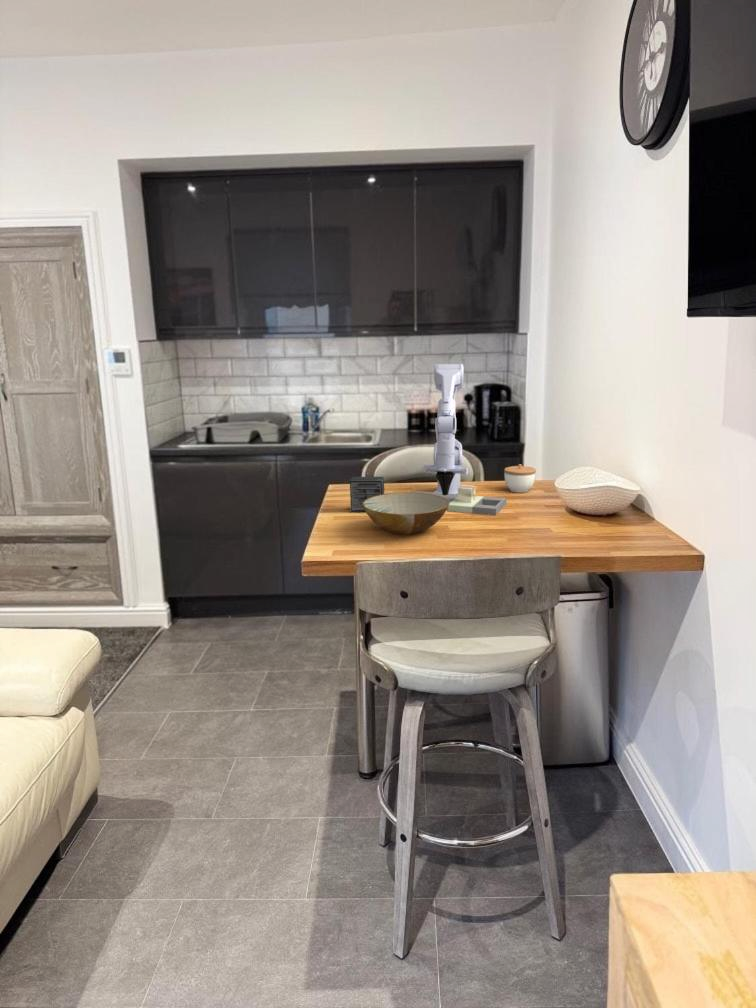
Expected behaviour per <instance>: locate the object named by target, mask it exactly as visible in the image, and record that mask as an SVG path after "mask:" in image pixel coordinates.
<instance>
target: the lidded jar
mask: <svg viewBox="0 0 756 1008" xmlns="http://www.w3.org/2000/svg"><path fill="white" fill-rule="evenodd" d="M536 471H537V469H536V468H534V467H531V466H526V465H525V466H524V465H522V464H520V463H519V464H518V465H512V466H508V467H505V468H504V481H505V486H507V488H508V489H509V490H510V492H512V493H516V492H517V493H518V494H519V493H520V494H521V493H522V494H524V493H528V492H529V490H530V489H531V488H532V487H533V486H534V484H535V481H536Z"/></svg>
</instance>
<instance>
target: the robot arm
mask: <svg viewBox="0 0 756 1008" xmlns="http://www.w3.org/2000/svg"><path fill="white" fill-rule="evenodd" d="M464 371H465V370H464V364H463V363H441V364H440V363H436V364H435V365H434V368H433V377H434V378H433V379H434V385H435V389H436V390H437V391H440V392H441V398H440V399H439V400H438V402H437V415H436V416H437V417H435V420H434V421H435V425H434V426H435V427H434V428H435V429H434V430H435V436H436V437H435V439H436V442H435V443H434V446H433V464H424V465H422V466H423V467H422V468H423V469H422V470H423V471H422V472H423V473H425V472H426V473H427V472H430V473H436V474H435V477H436V479H437V489H436V490H434V491H433V493H442V495H448V494H458V488H459V487H460V486H461V475H464V476H466V475H468V474H469V467H464V466H463V444H462V443H461V442H460V441H459V440H458V439H456V438H455V437H456V435H455V434H456V433H457V417H456V416H457V415H456V408H457V407H456V406H457V403H456V396H457V393H458V391H460V390H462V389H463V386H464Z"/></svg>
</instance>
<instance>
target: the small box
mask: <svg viewBox="0 0 756 1008" xmlns="http://www.w3.org/2000/svg"><path fill="white" fill-rule="evenodd" d="M349 492H350V493H349V494H350V513H366V511H365V510H364V508H363V506H362V503H363V501H364V500H366V499H368V498H370V497H373V496H377V495H382V494H385V477H384V476H352V477H351V478H350V479H349Z"/></svg>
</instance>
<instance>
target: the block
mask: <svg viewBox="0 0 756 1008" xmlns="http://www.w3.org/2000/svg"><path fill="white" fill-rule="evenodd" d="M457 494H458V502H467V503H472V502H473V501H474V500H475V496H476V486H475V485H469V484H468V485H467V484H465V485H464V484H460V487H459V488H458V493H457Z"/></svg>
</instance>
